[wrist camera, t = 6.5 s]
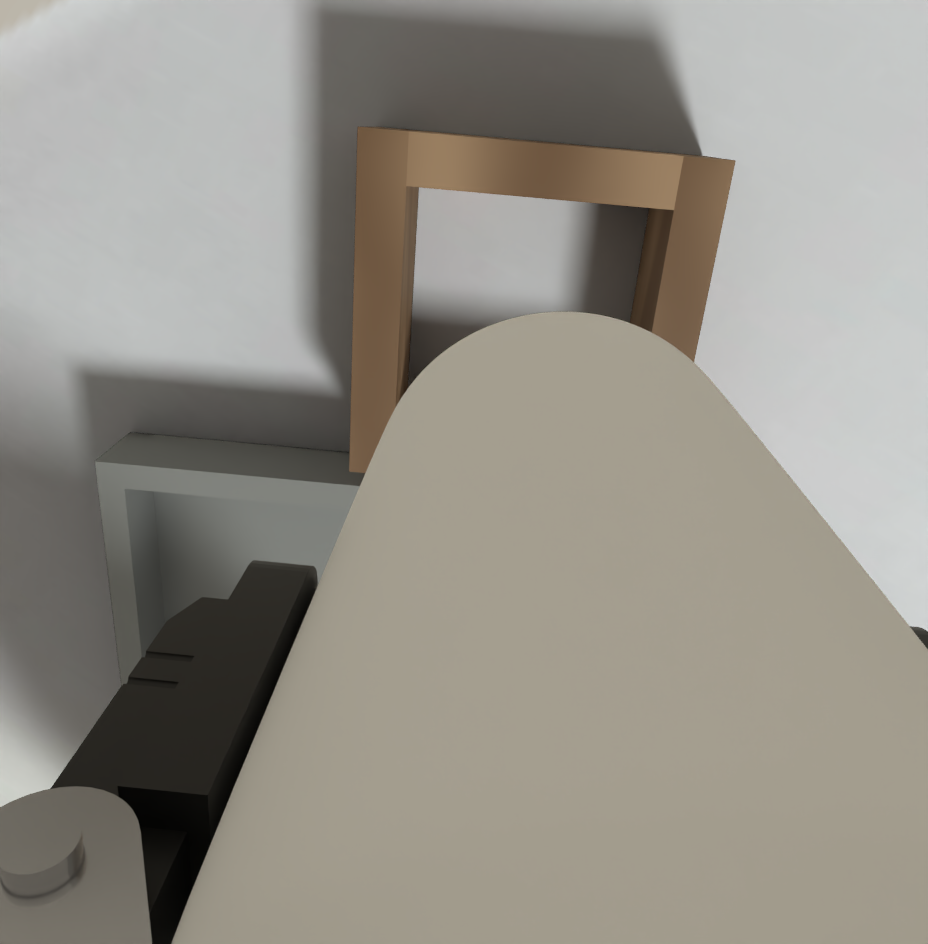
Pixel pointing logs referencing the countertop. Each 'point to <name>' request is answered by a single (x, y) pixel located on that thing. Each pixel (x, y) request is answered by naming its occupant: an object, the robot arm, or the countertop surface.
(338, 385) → the countertop surface
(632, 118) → the countertop surface
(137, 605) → the tray
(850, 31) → the countertop surface
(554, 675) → the can
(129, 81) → the countertop surface
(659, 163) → the socket block
